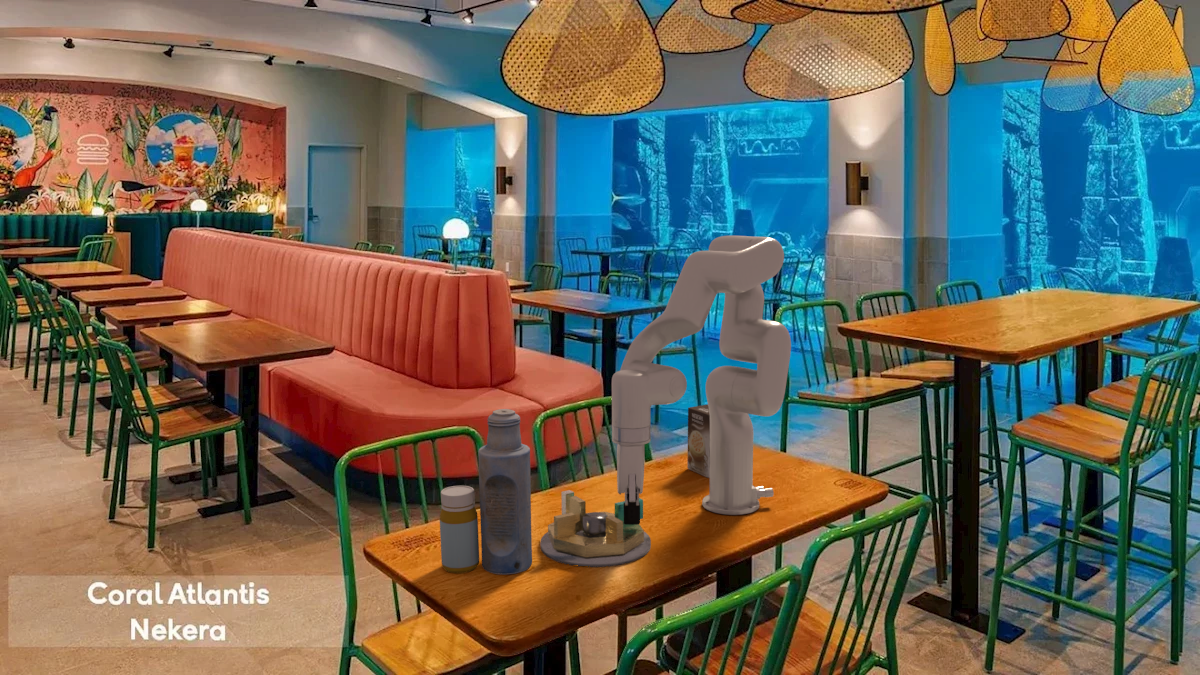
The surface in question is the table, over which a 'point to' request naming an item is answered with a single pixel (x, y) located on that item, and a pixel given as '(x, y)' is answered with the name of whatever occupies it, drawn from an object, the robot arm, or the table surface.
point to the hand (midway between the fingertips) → (631, 522)
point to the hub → (592, 528)
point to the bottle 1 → (459, 530)
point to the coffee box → (699, 440)
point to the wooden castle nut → (614, 543)
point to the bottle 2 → (505, 496)
